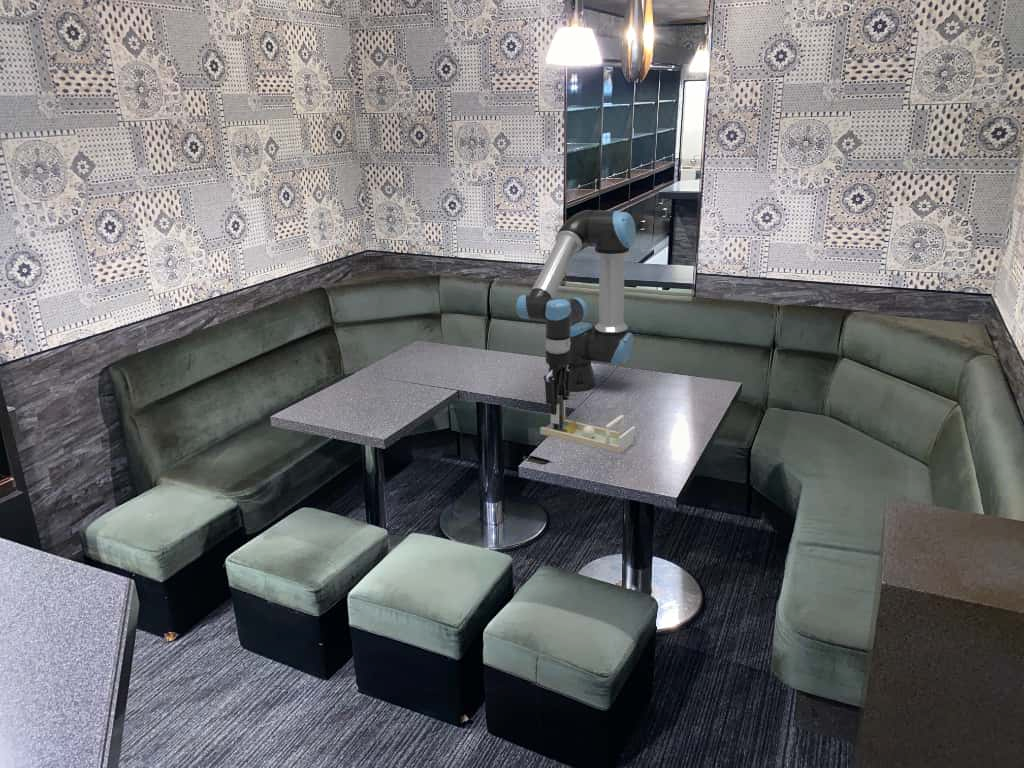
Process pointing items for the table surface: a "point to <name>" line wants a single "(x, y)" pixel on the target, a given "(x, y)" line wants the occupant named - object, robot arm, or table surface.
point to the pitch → (597, 436)
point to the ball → (588, 431)
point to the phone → (535, 459)
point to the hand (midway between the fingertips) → (557, 420)
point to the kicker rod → (562, 427)
